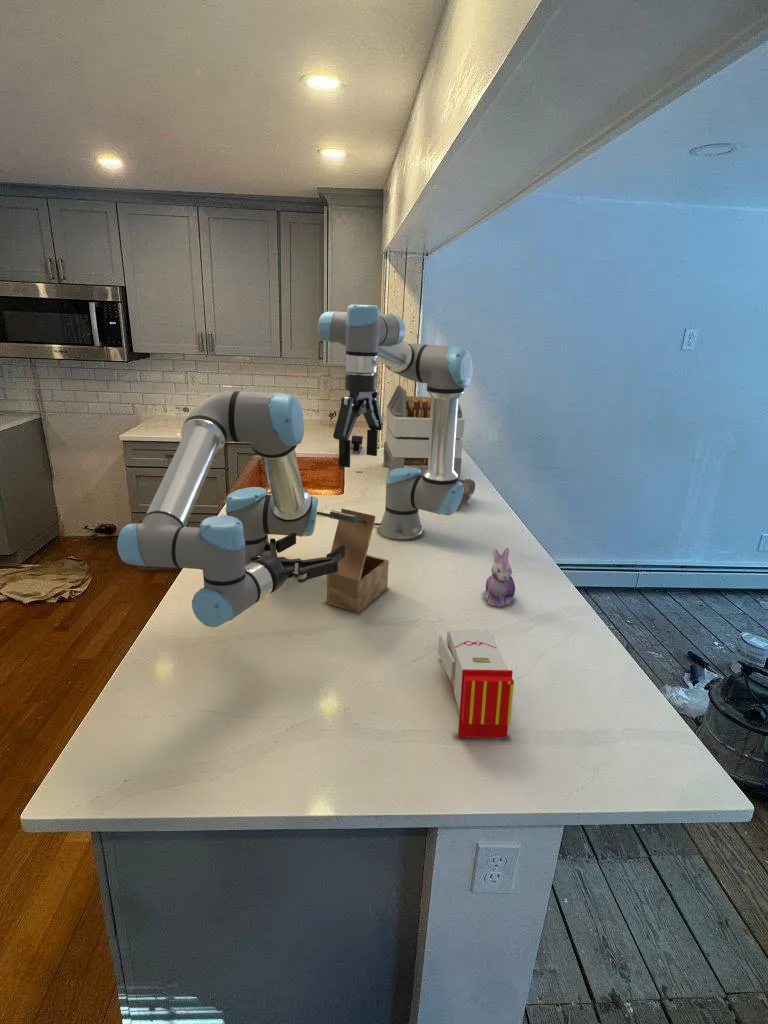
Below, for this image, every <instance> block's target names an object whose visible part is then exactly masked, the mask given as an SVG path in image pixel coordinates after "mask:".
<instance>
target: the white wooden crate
mask: <svg viewBox="0 0 768 1024" xmlns="http://www.w3.org/2000/svg"><path fill="white" fill-rule="evenodd" d="M407 394H408V393H407V390H406V389H404V388H403V387H402V385H399V384H398V385H397V386H396V388H395V390H394V392H393V394H392V395H391V398H390V400H389V402H388V404H387V405H386V413H385V414H386V415H385V423H386V428H385V438H384V442H383V466H384V467H388V468H389V472H390V471H391V470H393V469H397V468H405V466H406V467H409V466H411V467H417V466H418V467H428V451H429V431H430V412H431V396H415V395H414V396H413V395H412V396H411V395H407ZM464 429H465V419H464V418H463V411H462V408H461V405H460V401H458V415H457V430H456V445H455V459H454V471H455V472H456V473H457V474H458V480H461V472H462V461H463V460H462V453H463V442H464V441H463V440H462V439H463V438H464V431H465V430H464Z"/></svg>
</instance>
